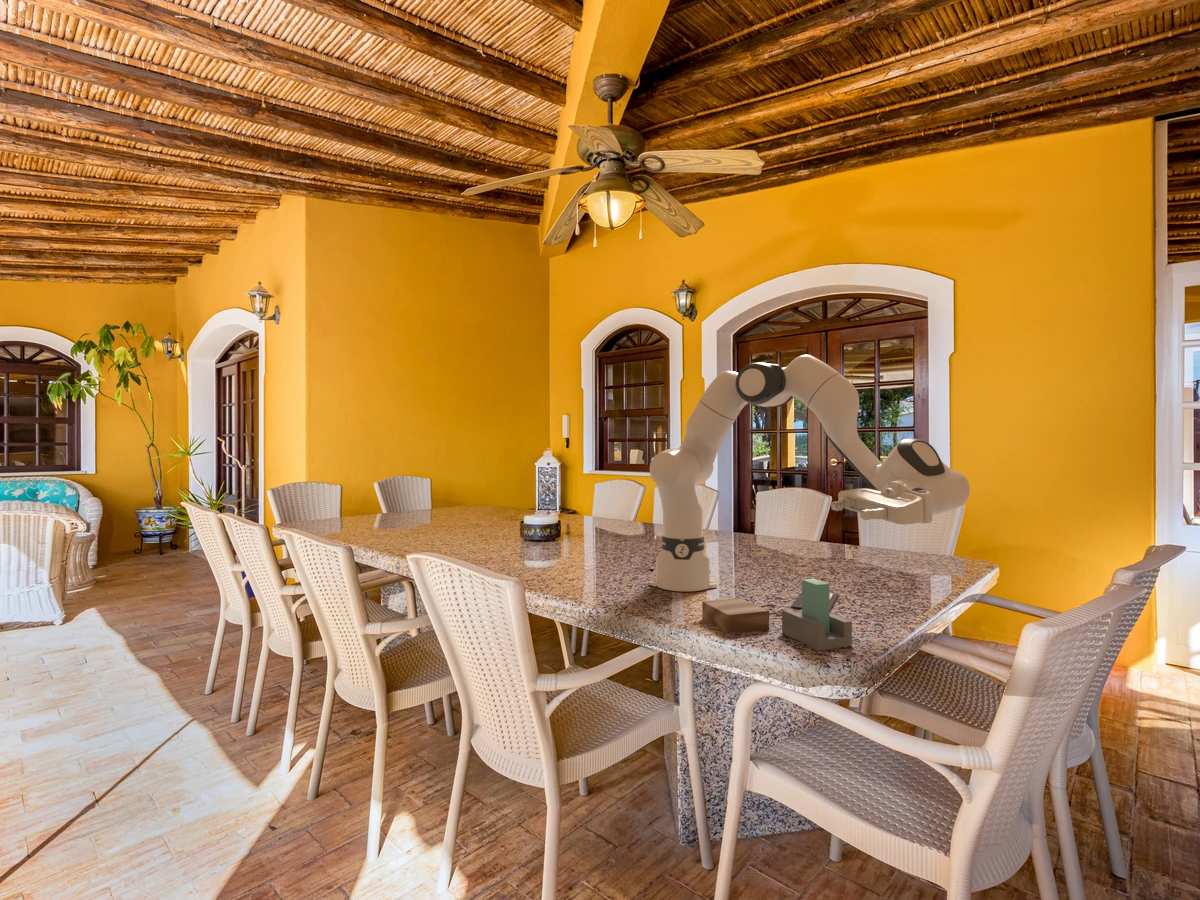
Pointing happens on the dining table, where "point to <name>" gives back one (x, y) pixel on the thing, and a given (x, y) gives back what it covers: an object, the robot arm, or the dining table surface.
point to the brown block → (735, 615)
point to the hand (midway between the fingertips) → (847, 511)
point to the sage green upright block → (816, 601)
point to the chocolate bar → (798, 602)
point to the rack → (817, 630)
